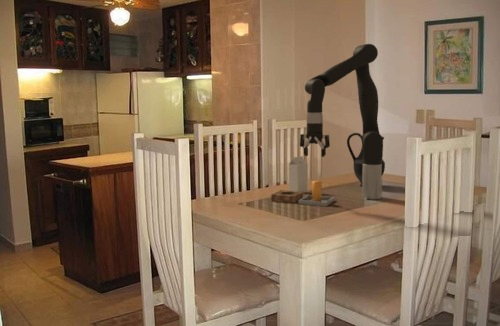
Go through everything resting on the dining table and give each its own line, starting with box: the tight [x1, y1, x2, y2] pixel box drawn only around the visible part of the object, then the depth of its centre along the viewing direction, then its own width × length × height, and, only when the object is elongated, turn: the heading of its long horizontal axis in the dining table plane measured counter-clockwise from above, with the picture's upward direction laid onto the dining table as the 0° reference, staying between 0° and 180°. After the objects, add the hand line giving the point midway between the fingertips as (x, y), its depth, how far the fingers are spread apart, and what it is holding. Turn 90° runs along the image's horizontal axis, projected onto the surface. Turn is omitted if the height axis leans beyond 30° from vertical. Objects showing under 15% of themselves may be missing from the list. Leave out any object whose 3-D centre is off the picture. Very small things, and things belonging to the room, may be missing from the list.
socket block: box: [270, 189, 304, 204], centre depth 247 cm, size 12×12×4 cm
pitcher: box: [346, 132, 386, 188], centre depth 281 cm, size 17×21×30 cm
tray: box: [297, 194, 336, 207], centre depth 241 cm, size 14×14×2 cm
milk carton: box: [288, 155, 308, 193], centre depth 268 cm, size 7×7×19 cm
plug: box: [311, 180, 323, 202], centre depth 240 cm, size 4×4×10 cm
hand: (314, 156), depth 240 cm, fingers open, 8 cm apart
